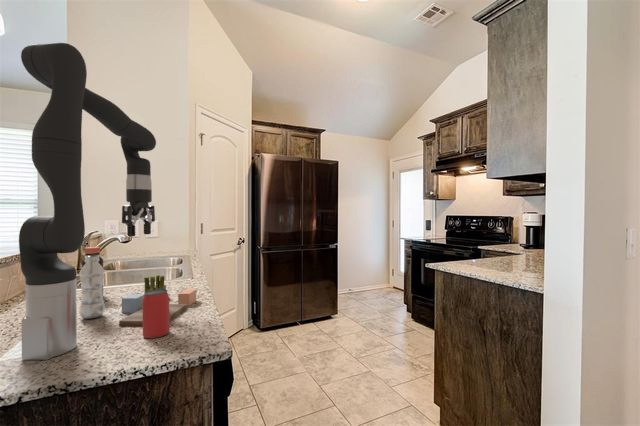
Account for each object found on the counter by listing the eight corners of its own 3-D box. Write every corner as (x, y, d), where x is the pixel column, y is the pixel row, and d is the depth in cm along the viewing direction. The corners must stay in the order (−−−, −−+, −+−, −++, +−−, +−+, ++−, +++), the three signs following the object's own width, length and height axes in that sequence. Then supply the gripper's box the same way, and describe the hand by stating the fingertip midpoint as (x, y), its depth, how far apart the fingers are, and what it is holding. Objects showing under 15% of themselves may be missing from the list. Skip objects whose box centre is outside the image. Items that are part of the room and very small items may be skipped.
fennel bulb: (142, 313, 95) (142, 276, 95) (153, 308, 100) (153, 273, 100) (157, 315, 94) (157, 277, 94) (168, 310, 98) (168, 274, 98)
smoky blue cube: (136, 313, 100) (136, 298, 100) (121, 313, 100) (121, 298, 100) (145, 308, 105) (145, 294, 105) (131, 308, 105) (131, 294, 105)
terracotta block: (189, 306, 108) (189, 293, 108) (178, 306, 108) (178, 293, 108) (196, 301, 114) (196, 289, 114) (185, 301, 114) (185, 289, 114)
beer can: (150, 341, 78) (150, 296, 78) (137, 335, 82) (137, 292, 82) (174, 332, 84) (174, 290, 84) (161, 327, 87) (161, 287, 87)
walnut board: (162, 325, 89) (162, 320, 89) (119, 325, 89) (119, 320, 89) (186, 308, 105) (186, 304, 105) (150, 308, 105) (150, 304, 105)
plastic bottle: (91, 321, 92) (91, 257, 92) (73, 320, 93) (73, 257, 93) (110, 314, 98) (109, 254, 98) (93, 313, 100) (93, 254, 100)
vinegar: (106, 296, 119) (106, 247, 119) (86, 301, 113) (85, 249, 113) (98, 294, 123) (98, 246, 123) (78, 298, 117) (78, 247, 117)
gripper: (136, 187, 95) (137, 237, 96) (161, 189, 110) (161, 233, 110) (113, 187, 96) (114, 237, 96) (141, 189, 110) (142, 233, 110)
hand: (139, 235), depth 103 cm, fingers open, 8 cm apart
